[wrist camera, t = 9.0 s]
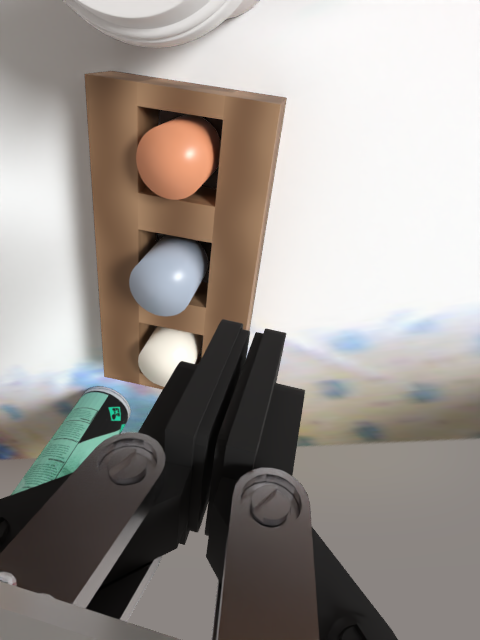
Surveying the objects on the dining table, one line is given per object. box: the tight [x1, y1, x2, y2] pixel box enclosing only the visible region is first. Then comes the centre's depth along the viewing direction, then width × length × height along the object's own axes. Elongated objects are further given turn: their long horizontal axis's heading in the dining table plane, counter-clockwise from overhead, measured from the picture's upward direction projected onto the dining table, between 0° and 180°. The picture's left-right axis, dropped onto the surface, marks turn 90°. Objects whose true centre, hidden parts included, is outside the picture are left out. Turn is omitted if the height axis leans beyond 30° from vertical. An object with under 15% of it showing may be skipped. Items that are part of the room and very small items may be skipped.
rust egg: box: [136, 115, 221, 200], centre depth 29 cm, size 4×4×5 cm
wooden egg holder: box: [85, 71, 287, 389], centre depth 34 cm, size 12×24×4 cm, turn 173°
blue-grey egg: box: [129, 235, 208, 316], centre depth 32 cm, size 4×4×5 cm
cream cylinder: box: [138, 326, 203, 387], centre depth 37 cm, size 4×4×5 cm
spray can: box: [11, 386, 130, 495], centre depth 39 cm, size 6×6×20 cm
